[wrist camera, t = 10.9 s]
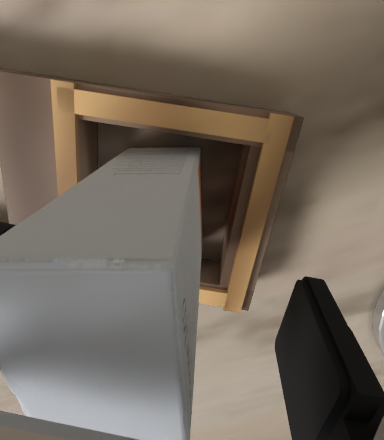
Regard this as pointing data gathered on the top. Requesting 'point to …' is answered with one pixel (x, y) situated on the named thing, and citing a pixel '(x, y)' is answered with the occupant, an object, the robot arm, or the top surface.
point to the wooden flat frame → (157, 121)
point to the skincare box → (108, 298)
